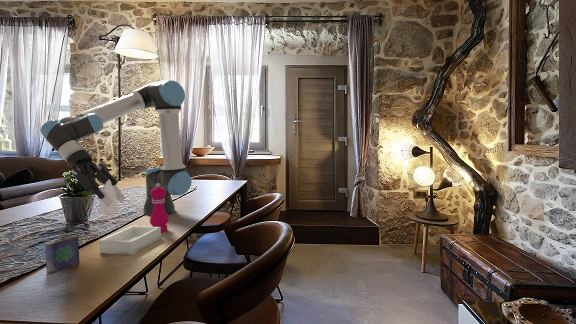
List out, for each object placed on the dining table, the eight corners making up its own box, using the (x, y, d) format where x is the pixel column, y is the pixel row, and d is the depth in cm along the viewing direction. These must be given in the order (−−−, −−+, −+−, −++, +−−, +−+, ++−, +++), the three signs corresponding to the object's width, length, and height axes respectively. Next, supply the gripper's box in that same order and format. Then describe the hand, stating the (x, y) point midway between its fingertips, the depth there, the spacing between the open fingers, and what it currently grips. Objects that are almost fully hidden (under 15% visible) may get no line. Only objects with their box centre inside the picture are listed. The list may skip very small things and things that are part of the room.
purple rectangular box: (49, 274, 98) (46, 238, 97) (44, 272, 100) (41, 237, 99) (81, 263, 106) (79, 230, 105) (76, 261, 108) (74, 229, 107)
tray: (133, 236, 133) (132, 225, 133) (160, 238, 131) (160, 227, 131) (100, 253, 115) (99, 240, 115) (131, 255, 113) (131, 242, 113)
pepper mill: (162, 234, 137) (160, 185, 135) (146, 232, 138) (144, 184, 136) (172, 228, 144) (170, 182, 142) (156, 227, 145) (155, 181, 143)
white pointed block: (98, 178, 123) (115, 177, 125) (99, 211, 124) (116, 209, 127) (98, 181, 117) (116, 180, 120) (99, 214, 119) (117, 213, 121)
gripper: (89, 160, 133) (128, 203, 131) (47, 165, 115) (91, 215, 113) (100, 147, 131) (139, 190, 130) (59, 150, 113) (104, 200, 112)
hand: (117, 202), depth 121 cm, fingers closed on white pointed block, 6 cm apart
